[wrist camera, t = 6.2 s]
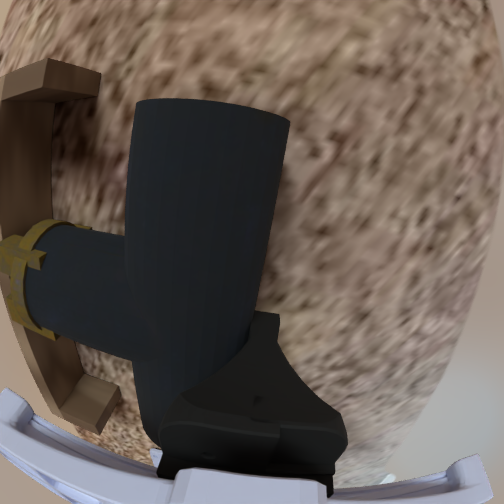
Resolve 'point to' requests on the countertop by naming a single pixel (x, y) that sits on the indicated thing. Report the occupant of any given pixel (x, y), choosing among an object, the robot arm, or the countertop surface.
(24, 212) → the stop rail
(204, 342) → the pipe connector
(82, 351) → the countertop surface
